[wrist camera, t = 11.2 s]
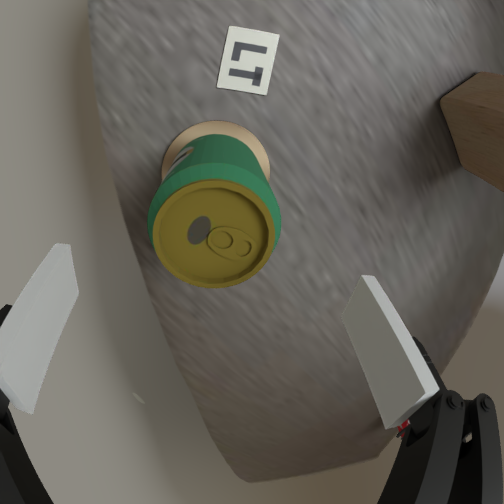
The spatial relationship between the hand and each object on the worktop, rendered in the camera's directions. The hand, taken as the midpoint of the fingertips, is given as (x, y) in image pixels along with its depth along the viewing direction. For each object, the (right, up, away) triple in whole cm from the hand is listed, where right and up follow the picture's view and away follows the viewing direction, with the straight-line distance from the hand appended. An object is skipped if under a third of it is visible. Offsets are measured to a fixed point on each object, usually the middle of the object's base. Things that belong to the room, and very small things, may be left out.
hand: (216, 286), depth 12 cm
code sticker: (+1, +18, +9) cm, 20 cm away
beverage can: (-2, +9, +14) cm, 17 cm away
